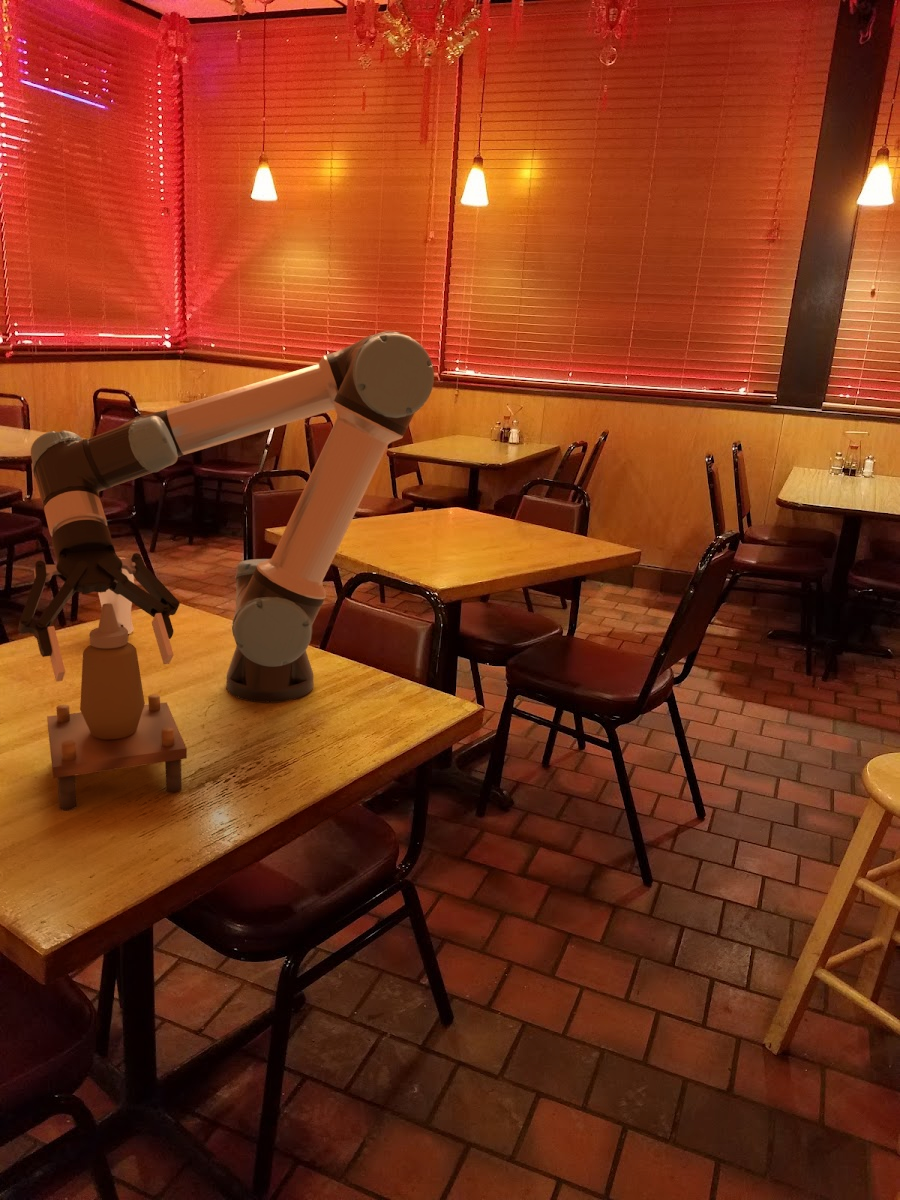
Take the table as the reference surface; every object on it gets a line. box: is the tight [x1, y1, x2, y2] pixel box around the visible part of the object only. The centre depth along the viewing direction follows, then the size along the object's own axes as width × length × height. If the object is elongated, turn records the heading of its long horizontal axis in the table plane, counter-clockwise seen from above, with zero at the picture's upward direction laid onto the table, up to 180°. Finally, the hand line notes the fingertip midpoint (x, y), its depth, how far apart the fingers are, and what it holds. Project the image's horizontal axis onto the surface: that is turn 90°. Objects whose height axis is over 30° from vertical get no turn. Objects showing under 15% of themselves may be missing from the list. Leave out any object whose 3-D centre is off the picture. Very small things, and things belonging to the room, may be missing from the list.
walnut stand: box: [46, 693, 188, 811], centre depth 114 cm, size 16×16×8 cm
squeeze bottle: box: [79, 603, 146, 740], centre depth 111 cm, size 8×8×18 cm
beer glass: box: [97, 556, 135, 635], centre depth 169 cm, size 7×7×15 cm
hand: (116, 668), depth 109 cm, fingers open, 13 cm apart
